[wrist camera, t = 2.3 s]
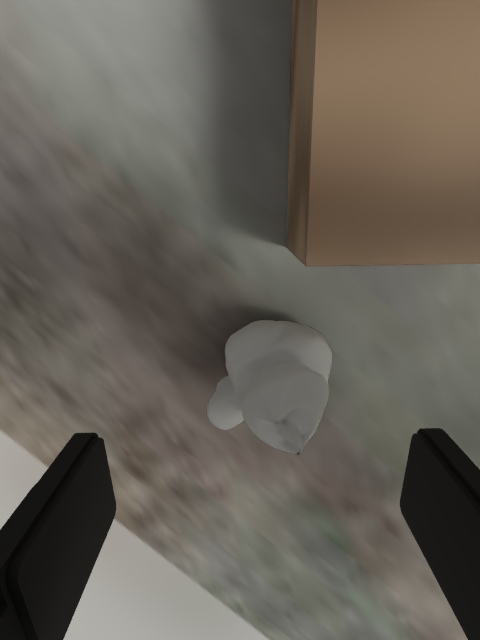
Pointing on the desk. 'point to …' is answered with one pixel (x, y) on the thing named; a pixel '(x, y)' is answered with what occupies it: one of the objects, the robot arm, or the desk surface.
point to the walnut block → (384, 132)
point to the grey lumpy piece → (274, 383)
